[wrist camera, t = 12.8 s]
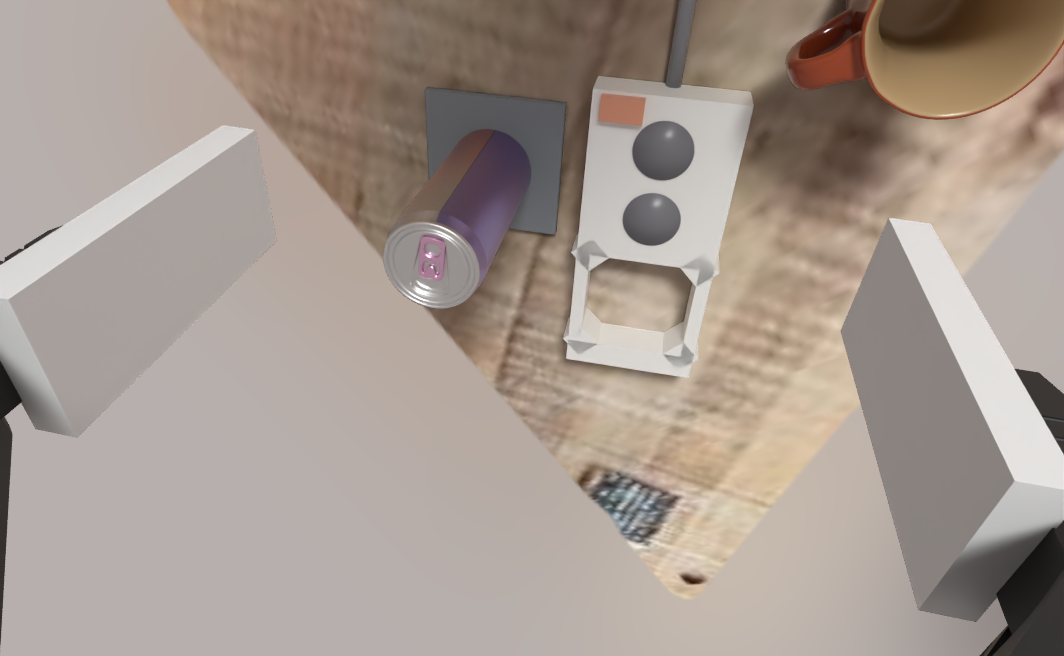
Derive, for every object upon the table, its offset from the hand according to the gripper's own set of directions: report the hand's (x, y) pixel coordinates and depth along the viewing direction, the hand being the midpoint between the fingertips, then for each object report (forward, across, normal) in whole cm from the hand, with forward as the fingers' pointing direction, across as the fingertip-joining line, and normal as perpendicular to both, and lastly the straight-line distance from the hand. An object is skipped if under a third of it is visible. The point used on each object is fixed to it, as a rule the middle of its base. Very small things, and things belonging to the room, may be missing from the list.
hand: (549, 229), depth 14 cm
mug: (+34, +14, 0) cm, 37 cm away
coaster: (+34, -9, -14) cm, 37 cm away
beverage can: (+33, -9, -14) cm, 37 cm away
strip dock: (+34, +3, -14) cm, 36 cm away
